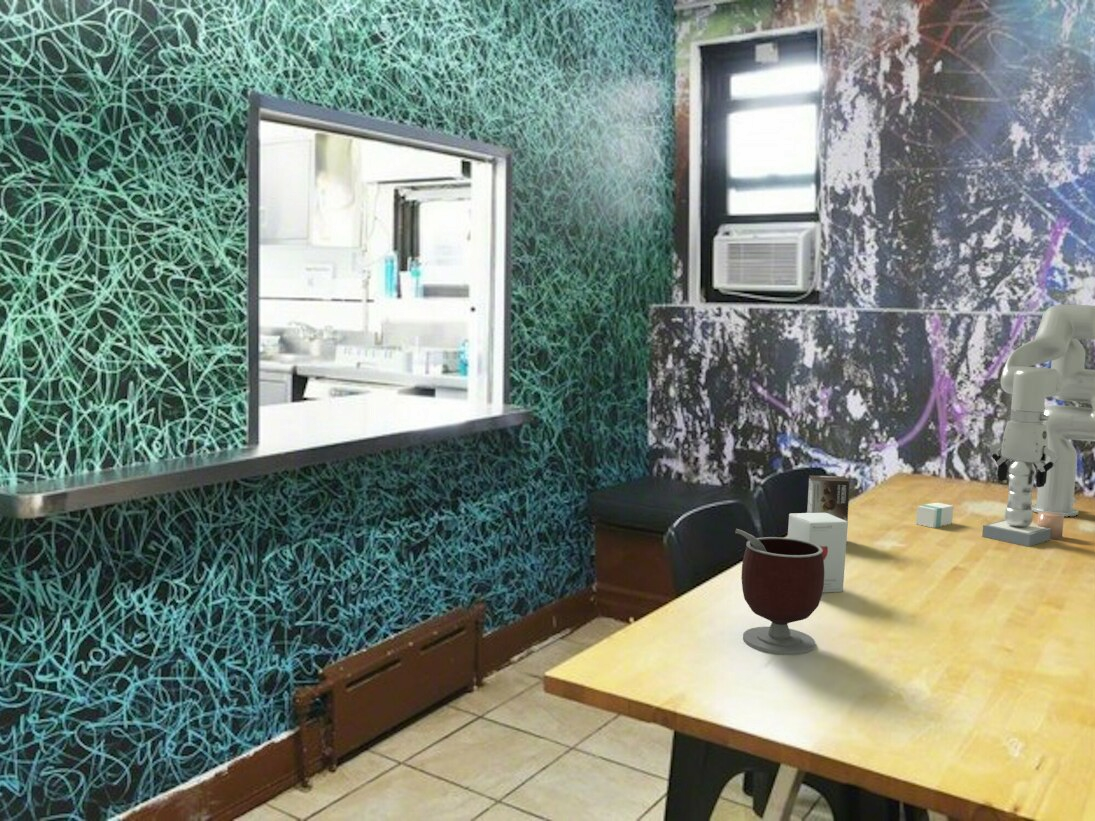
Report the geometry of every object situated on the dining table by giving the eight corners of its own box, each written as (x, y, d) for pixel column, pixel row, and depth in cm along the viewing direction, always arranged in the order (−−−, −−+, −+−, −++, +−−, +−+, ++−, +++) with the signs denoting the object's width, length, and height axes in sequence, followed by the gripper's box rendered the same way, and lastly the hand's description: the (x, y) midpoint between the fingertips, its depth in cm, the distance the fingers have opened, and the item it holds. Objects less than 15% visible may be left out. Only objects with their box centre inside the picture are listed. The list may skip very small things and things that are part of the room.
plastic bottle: (1036, 529, 249) (1043, 452, 246) (1010, 529, 249) (1017, 451, 246) (1024, 523, 255) (1030, 448, 253) (998, 523, 255) (1004, 447, 253)
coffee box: (841, 538, 246) (845, 476, 244) (846, 545, 240) (851, 480, 238) (804, 536, 247) (808, 474, 245) (809, 543, 240) (813, 479, 239)
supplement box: (805, 594, 198) (809, 522, 196) (783, 581, 206) (787, 512, 205) (844, 592, 200) (849, 521, 198) (821, 579, 209) (825, 511, 207)
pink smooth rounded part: (1042, 532, 260) (1044, 510, 259) (1065, 537, 255) (1068, 515, 254) (1032, 535, 256) (1034, 513, 255) (1055, 540, 251) (1058, 517, 250)
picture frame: (1004, 530, 260) (1005, 519, 260) (1050, 540, 251) (1051, 528, 251) (982, 536, 253) (983, 524, 253) (1028, 546, 244) (1029, 534, 243)
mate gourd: (806, 629, 177) (812, 521, 174) (830, 657, 163) (838, 540, 161) (721, 627, 176) (727, 519, 174) (738, 655, 162) (745, 538, 160)
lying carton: (934, 520, 271) (936, 502, 271) (952, 523, 268) (953, 505, 267) (915, 524, 265) (917, 506, 265) (933, 528, 261) (934, 509, 261)
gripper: (1068, 420, 244) (1062, 487, 246) (1000, 413, 257) (994, 476, 259) (1055, 422, 239) (1048, 490, 241) (986, 414, 253) (981, 479, 255)
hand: (1020, 483), depth 250 cm, fingers open, 9 cm apart
